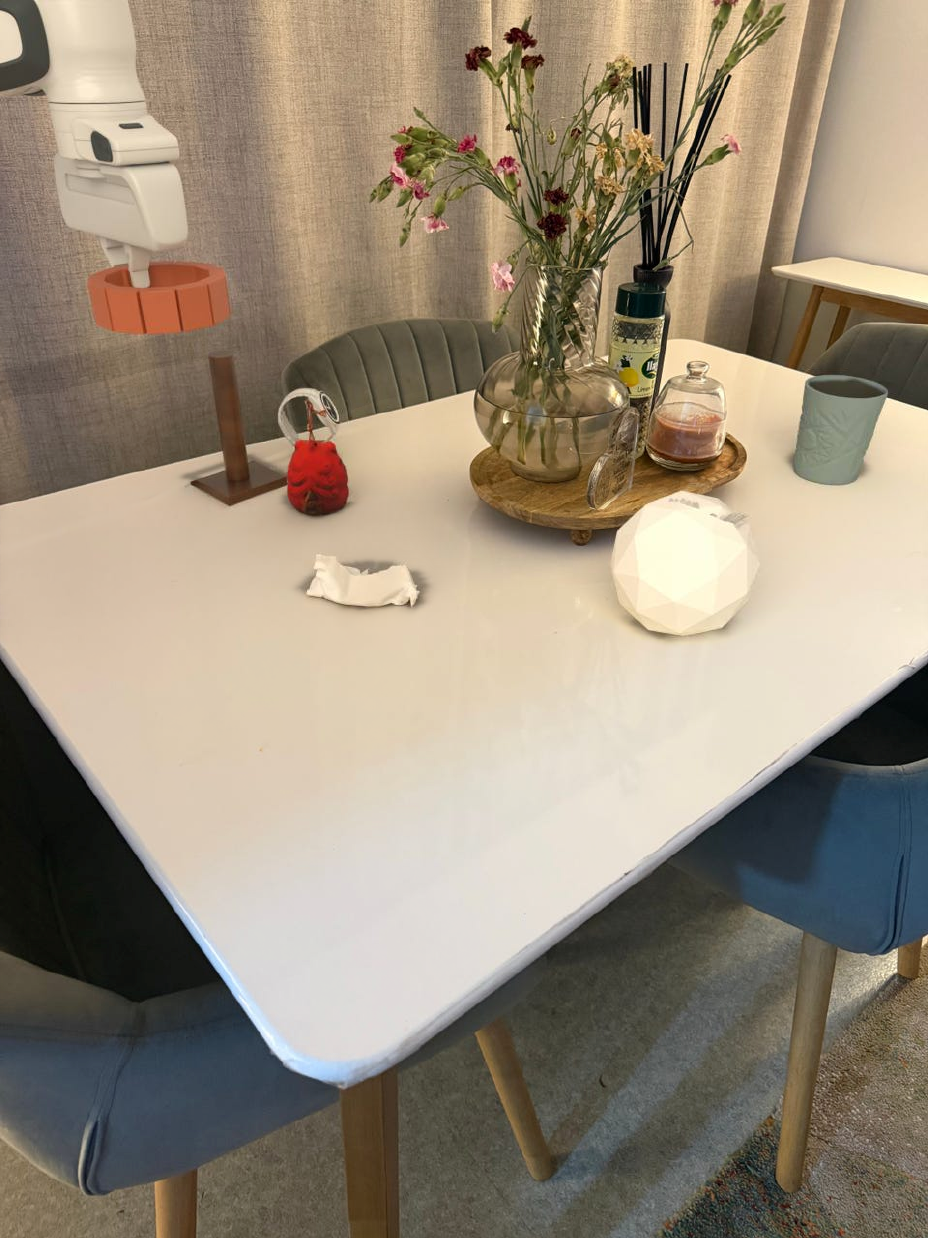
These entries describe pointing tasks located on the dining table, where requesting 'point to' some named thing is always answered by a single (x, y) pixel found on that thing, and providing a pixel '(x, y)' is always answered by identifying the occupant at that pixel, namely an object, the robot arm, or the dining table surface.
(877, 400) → the green embossed cup
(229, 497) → the peg stand
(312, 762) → the dining table surface
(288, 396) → the watch
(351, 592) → the fabric
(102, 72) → the robot arm
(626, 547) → the geodesic sphere
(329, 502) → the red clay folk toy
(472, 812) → the dining table surface
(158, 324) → the hoop
